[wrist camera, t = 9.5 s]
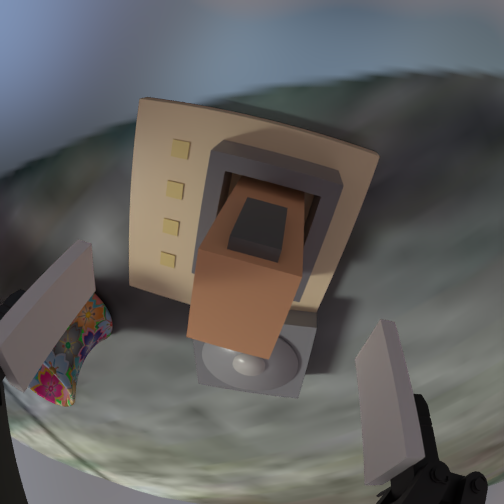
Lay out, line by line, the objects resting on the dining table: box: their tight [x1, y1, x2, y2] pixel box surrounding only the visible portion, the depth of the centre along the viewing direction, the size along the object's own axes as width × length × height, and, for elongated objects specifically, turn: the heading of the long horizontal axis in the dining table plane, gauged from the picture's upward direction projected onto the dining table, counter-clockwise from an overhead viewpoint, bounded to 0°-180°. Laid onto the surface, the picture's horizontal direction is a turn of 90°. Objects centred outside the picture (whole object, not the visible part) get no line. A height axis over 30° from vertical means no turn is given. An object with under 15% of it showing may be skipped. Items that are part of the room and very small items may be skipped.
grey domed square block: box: [193, 310, 317, 398], centre depth 28 cm, size 10×10×4 cm
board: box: [129, 97, 380, 312], centre depth 22 cm, size 16×16×4 cm
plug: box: [187, 175, 305, 360], centre depth 17 cm, size 4×6×10 cm
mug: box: [28, 293, 113, 406], centre depth 28 cm, size 12×9×11 cm
